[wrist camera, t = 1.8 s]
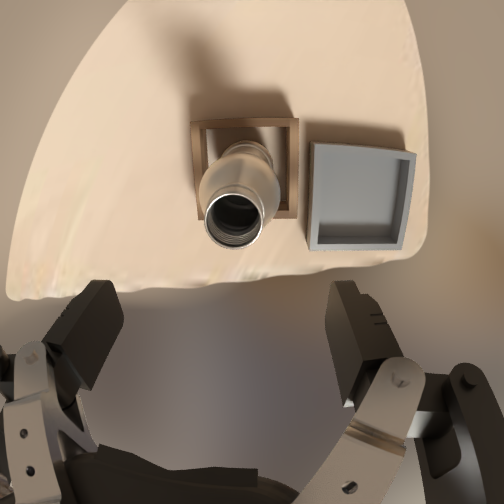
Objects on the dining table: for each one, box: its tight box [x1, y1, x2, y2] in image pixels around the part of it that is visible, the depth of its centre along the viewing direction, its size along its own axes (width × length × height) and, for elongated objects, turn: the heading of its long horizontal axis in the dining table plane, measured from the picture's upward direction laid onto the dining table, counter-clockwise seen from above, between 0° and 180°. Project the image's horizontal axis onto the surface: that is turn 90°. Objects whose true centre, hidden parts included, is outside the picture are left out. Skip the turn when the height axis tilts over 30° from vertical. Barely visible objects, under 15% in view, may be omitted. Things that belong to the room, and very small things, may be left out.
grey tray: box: [306, 141, 417, 251], centre depth 34 cm, size 14×14×3 cm
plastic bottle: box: [199, 140, 281, 249], centre depth 25 cm, size 6×7×20 cm
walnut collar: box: [190, 118, 299, 220], centre depth 32 cm, size 12×12×4 cm
